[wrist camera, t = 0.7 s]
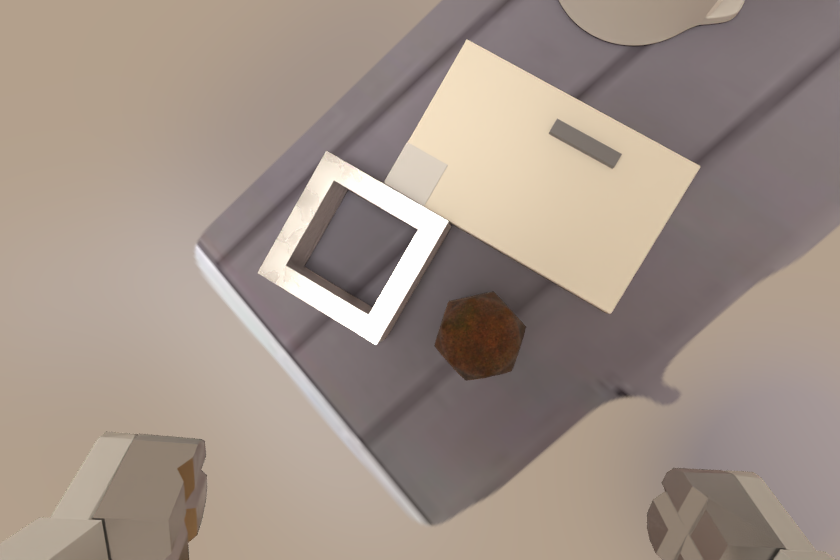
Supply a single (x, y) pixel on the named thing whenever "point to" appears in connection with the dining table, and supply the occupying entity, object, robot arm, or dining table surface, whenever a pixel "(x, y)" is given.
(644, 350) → the dining table surface
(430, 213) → the hollow square frame
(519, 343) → the bolt
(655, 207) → the cabinet door
